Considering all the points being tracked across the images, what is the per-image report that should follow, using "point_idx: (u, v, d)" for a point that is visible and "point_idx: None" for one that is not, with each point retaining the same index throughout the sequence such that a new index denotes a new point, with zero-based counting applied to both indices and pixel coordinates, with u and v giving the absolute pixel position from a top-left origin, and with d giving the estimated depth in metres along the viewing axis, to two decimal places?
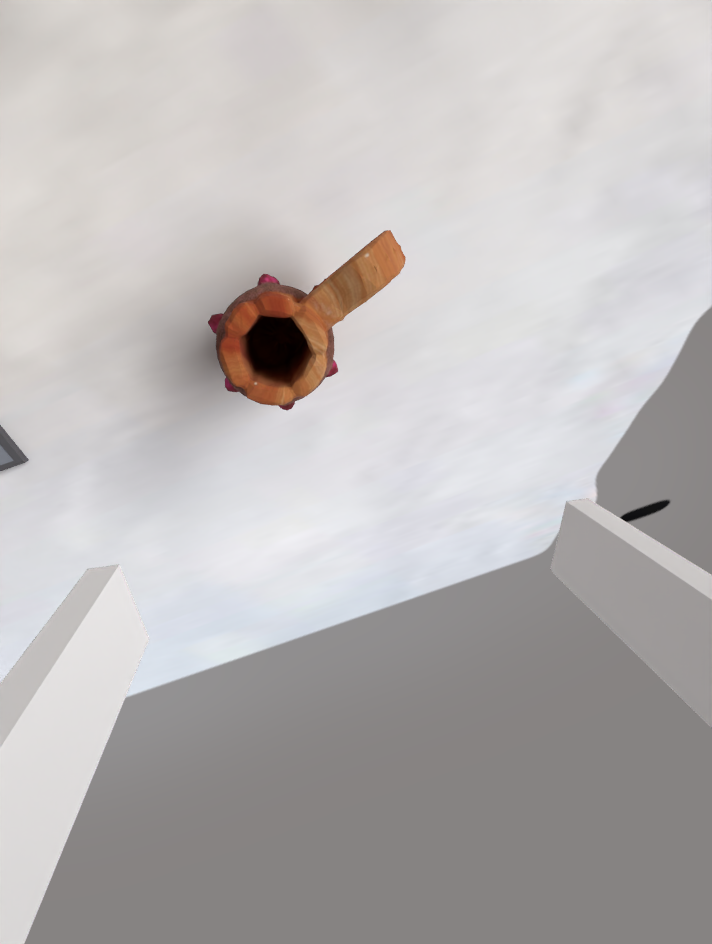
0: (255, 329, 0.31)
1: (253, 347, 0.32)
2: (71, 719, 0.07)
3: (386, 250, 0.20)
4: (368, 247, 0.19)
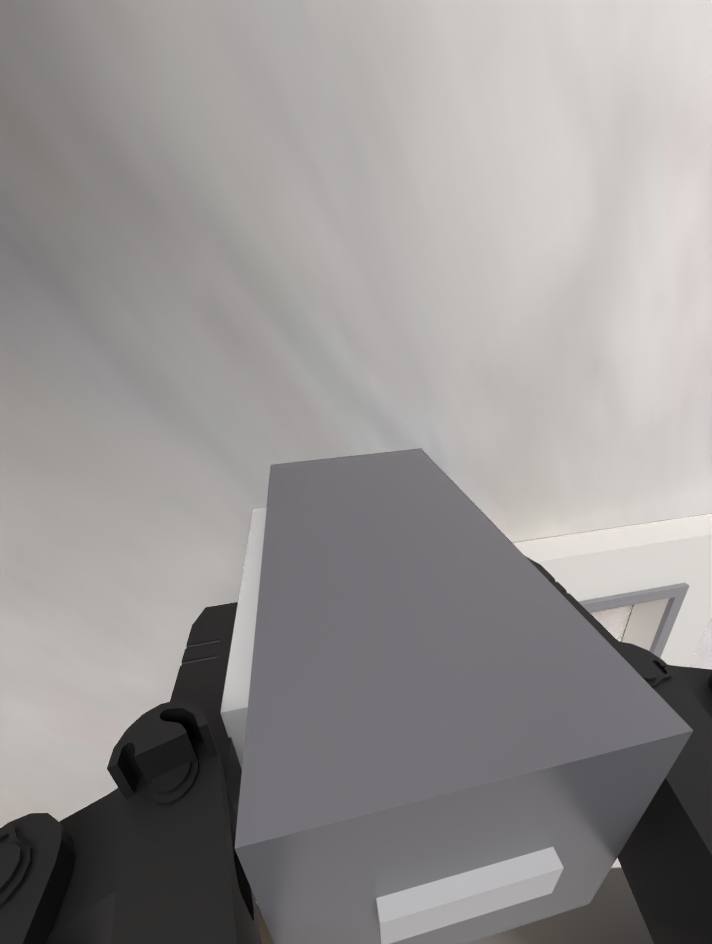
0: None
1: None
2: None
3: None
4: None
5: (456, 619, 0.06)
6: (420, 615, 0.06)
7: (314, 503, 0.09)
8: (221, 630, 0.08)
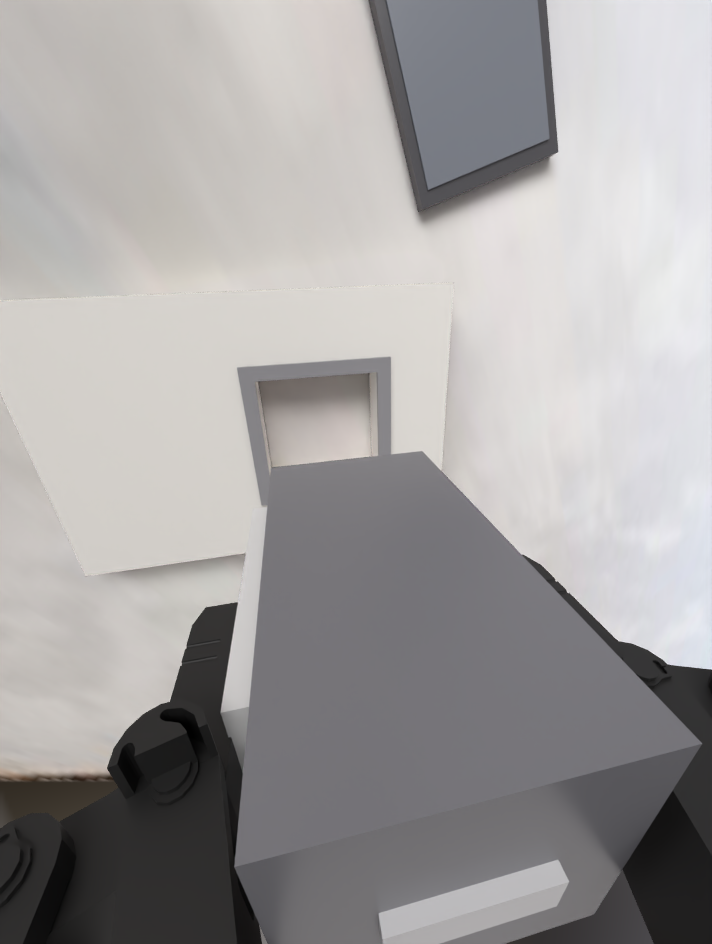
0: None
1: None
2: None
3: None
4: None
5: (459, 627, 0.05)
6: (422, 622, 0.06)
7: (314, 506, 0.09)
8: (221, 630, 0.08)
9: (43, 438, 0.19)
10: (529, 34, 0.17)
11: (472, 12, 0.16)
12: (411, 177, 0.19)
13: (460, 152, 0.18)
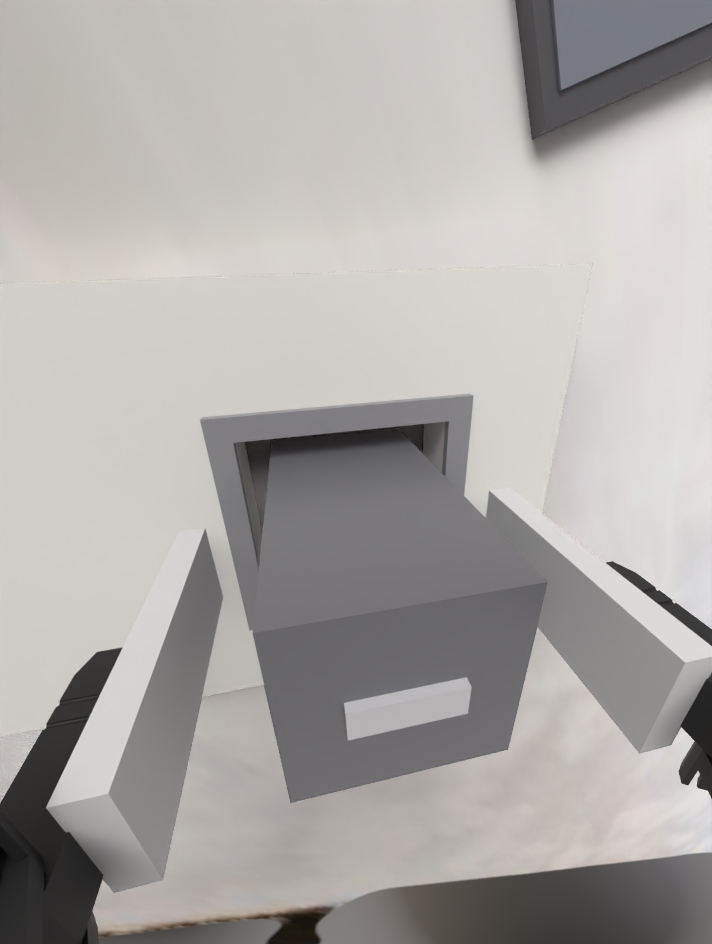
0: None
1: None
2: (189, 646, 0.08)
3: None
4: None
5: (406, 531, 0.08)
6: (381, 530, 0.08)
7: (307, 465, 0.11)
8: (104, 681, 0.07)
9: None
10: None
11: None
12: (527, 69, 0.10)
13: (626, 14, 0.10)
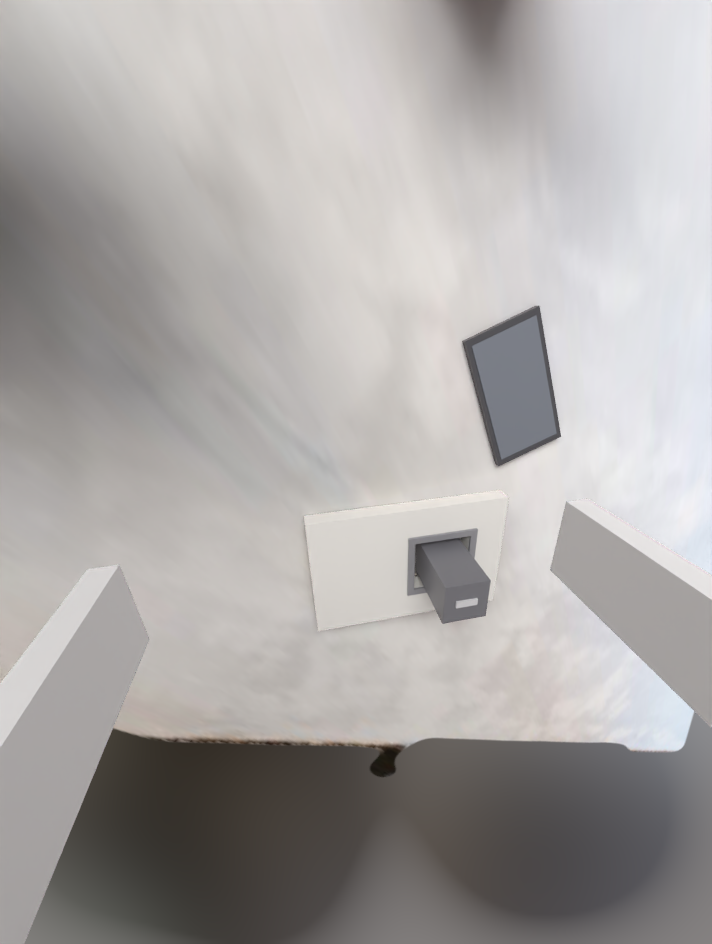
0: None
1: None
2: (71, 719, 0.07)
3: None
4: None
5: (464, 570, 0.39)
6: (459, 570, 0.39)
7: (433, 549, 0.42)
8: None
9: (319, 572, 0.41)
10: (546, 402, 0.39)
11: (522, 401, 0.39)
12: (493, 453, 0.41)
13: (516, 444, 0.41)
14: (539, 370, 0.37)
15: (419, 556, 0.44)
